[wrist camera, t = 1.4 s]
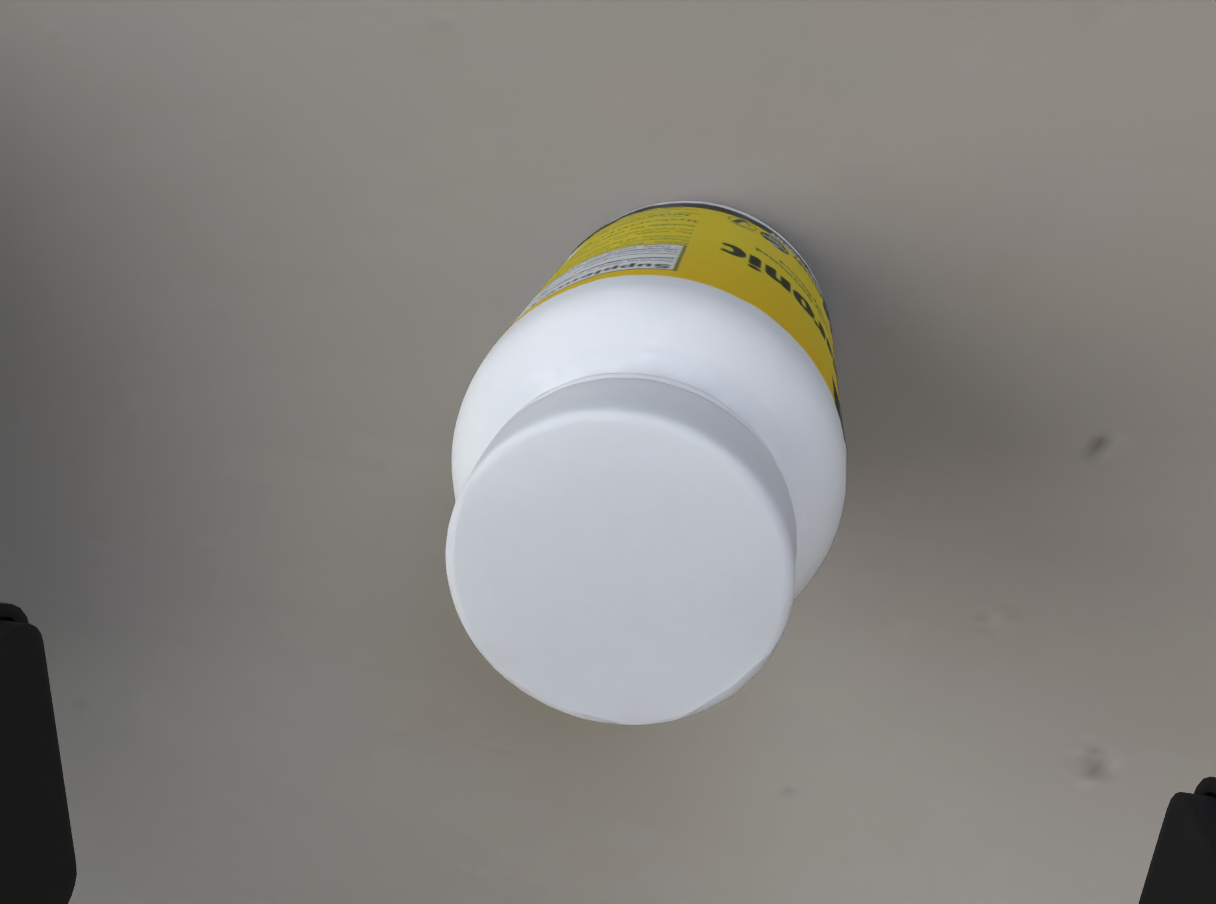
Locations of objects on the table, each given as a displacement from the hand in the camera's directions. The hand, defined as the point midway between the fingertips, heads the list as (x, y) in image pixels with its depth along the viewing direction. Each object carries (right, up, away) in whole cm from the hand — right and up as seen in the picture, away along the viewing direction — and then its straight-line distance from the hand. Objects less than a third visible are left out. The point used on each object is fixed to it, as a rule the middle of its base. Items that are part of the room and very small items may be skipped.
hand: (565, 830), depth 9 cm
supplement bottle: (+2, +5, +12) cm, 14 cm away
